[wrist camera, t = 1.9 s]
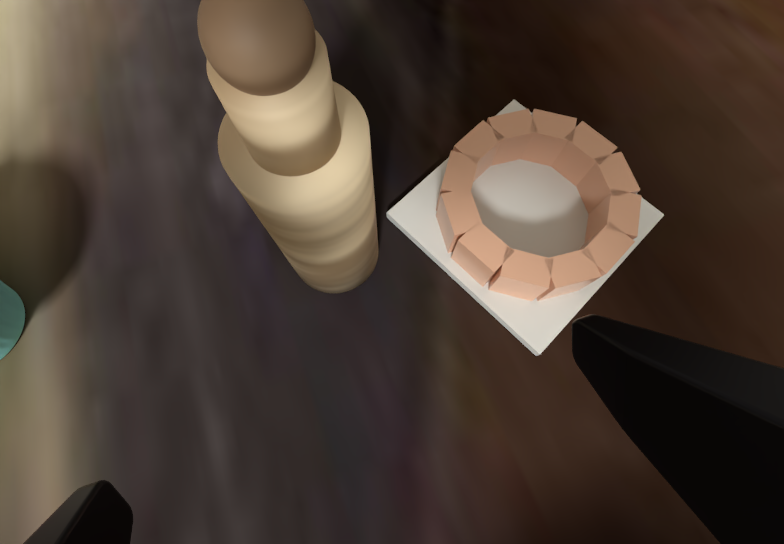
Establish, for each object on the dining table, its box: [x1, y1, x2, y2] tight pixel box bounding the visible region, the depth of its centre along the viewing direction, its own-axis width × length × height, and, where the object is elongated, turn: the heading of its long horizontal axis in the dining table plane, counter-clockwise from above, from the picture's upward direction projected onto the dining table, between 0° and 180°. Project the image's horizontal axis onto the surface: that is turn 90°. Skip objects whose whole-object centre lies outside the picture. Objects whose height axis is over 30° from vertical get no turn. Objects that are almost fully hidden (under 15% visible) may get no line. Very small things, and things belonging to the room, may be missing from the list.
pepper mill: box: [197, 0, 379, 293], centre depth 16 cm, size 5×5×16 cm
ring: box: [387, 100, 664, 356], centre depth 22 cm, size 11×11×3 cm
